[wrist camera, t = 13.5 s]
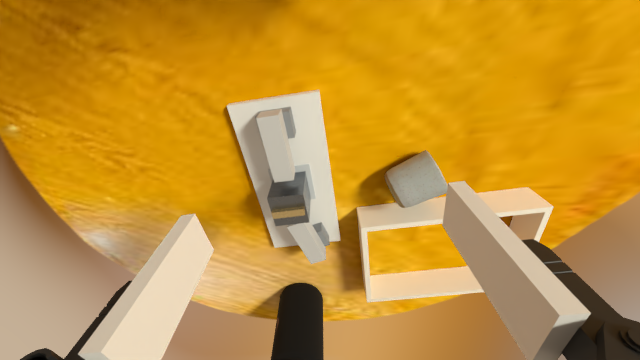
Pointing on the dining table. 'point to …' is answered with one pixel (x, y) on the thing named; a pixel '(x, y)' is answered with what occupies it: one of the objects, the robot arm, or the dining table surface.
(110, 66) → the dining table surface
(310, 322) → the coffee jar
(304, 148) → the white base plate
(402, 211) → the tray
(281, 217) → the dark grey block
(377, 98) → the dining table surface
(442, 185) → the ceramic mug
